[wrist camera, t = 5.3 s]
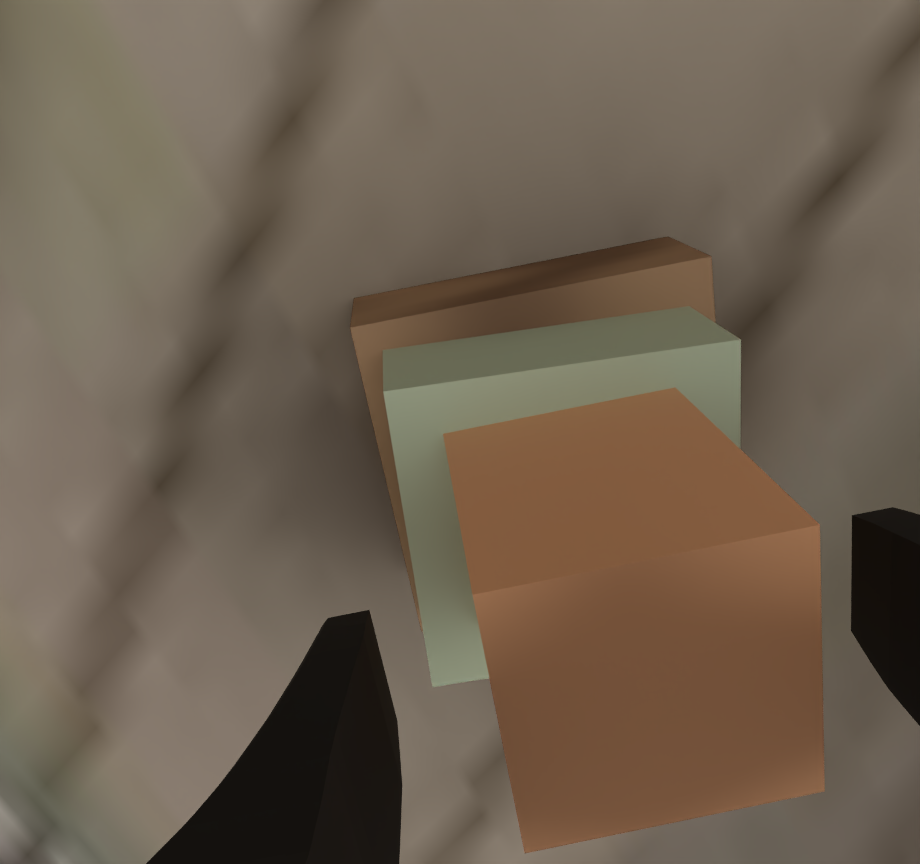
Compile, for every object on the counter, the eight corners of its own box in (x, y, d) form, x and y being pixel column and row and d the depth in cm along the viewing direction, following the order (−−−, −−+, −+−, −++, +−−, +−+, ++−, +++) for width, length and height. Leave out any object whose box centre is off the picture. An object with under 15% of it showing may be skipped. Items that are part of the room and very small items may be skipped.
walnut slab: (661, 234, 19) (711, 256, 16) (685, 507, 21) (731, 568, 18) (354, 294, 18) (349, 328, 16) (415, 562, 21) (421, 631, 18)
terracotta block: (675, 386, 14) (819, 525, 9) (692, 586, 16) (824, 790, 11) (442, 433, 14) (472, 595, 9) (482, 629, 15) (524, 853, 11)
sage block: (689, 305, 16) (741, 339, 14) (694, 570, 18) (739, 637, 16) (382, 349, 16) (383, 391, 14) (425, 612, 18) (432, 687, 16)
